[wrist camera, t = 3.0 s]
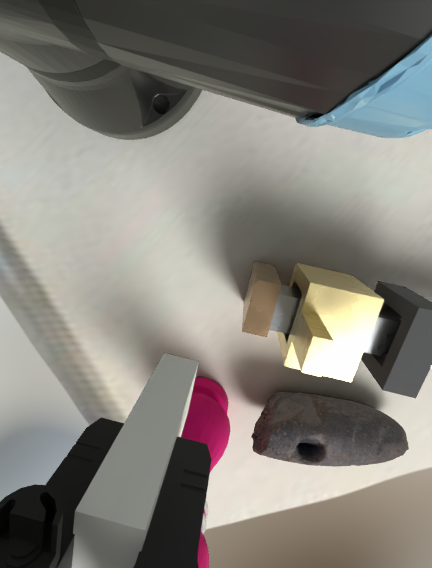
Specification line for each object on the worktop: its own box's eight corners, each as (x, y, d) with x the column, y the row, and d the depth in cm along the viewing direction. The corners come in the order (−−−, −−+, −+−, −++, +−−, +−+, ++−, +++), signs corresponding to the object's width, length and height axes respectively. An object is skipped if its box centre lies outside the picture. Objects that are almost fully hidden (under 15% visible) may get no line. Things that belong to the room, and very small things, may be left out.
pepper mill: (189, 361, 33) (104, 587, 14) (244, 393, 33) (236, 659, 14) (159, 406, 35) (50, 656, 16) (212, 436, 35) (166, 717, 16)
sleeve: (276, 328, 28) (291, 401, 18) (296, 262, 26) (324, 302, 16) (328, 341, 28) (372, 421, 18) (352, 275, 26) (416, 323, 16)
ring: (352, 346, 28) (382, 389, 22) (378, 281, 26) (419, 307, 20) (378, 352, 28) (415, 398, 21) (405, 287, 26) (455, 315, 20)
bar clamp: (243, 302, 30) (241, 332, 23) (254, 260, 29) (255, 280, 22) (545, 373, 29) (639, 428, 22) (570, 332, 27) (678, 377, 21)
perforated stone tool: (398, 395, 31) (438, 448, 25) (386, 436, 33) (420, 496, 26) (256, 376, 32) (257, 421, 26) (250, 416, 34) (250, 468, 27)
